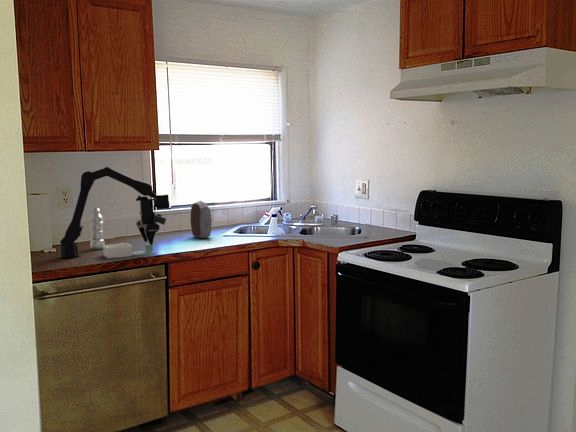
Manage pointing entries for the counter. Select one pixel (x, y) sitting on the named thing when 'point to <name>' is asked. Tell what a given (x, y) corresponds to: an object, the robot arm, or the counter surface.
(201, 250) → the counter surface
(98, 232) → the plastic bottle
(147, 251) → the lid
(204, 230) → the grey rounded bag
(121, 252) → the tub
